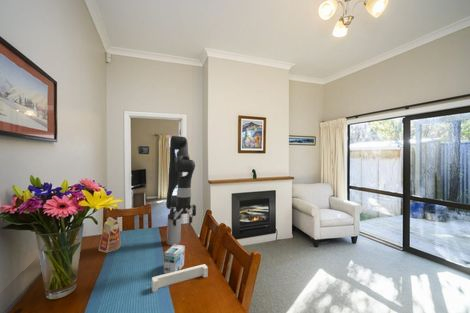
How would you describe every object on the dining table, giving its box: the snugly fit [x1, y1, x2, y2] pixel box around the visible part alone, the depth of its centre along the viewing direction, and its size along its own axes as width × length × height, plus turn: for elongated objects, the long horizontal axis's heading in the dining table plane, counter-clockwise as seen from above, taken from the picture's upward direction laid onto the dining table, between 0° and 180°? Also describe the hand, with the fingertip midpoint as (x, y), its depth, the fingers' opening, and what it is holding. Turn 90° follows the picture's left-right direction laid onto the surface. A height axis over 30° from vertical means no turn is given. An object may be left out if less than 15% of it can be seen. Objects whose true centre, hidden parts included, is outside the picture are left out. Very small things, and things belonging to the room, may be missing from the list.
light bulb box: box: [163, 244, 186, 274], centre depth 106 cm, size 11×7×11 cm, turn 168°
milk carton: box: [98, 216, 121, 254], centre depth 127 cm, size 9×9×20 cm
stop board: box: [151, 263, 209, 293], centre depth 95 cm, size 4×26×4 cm, turn 121°
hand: (182, 224), depth 109 cm, fingers open, 8 cm apart
